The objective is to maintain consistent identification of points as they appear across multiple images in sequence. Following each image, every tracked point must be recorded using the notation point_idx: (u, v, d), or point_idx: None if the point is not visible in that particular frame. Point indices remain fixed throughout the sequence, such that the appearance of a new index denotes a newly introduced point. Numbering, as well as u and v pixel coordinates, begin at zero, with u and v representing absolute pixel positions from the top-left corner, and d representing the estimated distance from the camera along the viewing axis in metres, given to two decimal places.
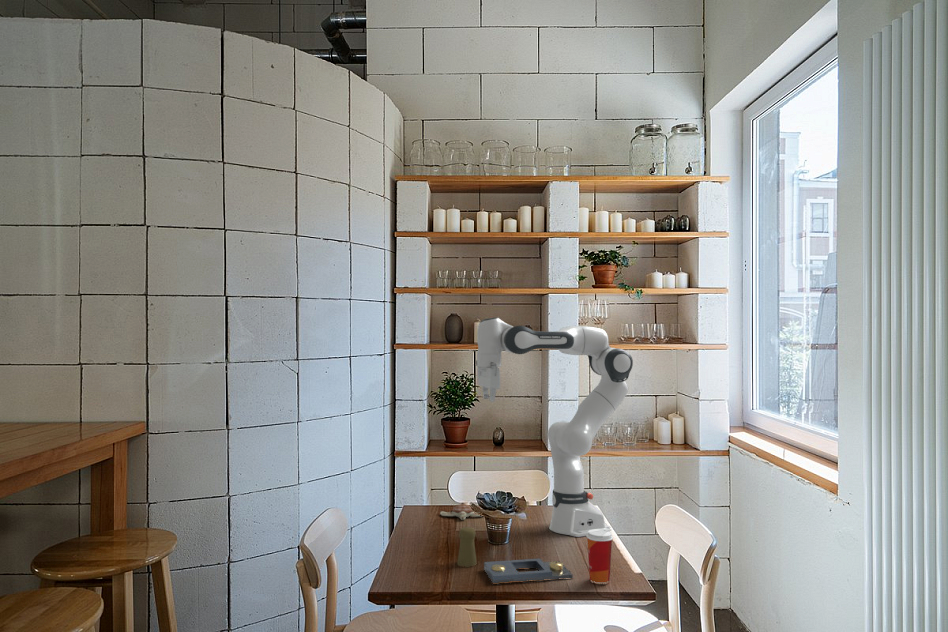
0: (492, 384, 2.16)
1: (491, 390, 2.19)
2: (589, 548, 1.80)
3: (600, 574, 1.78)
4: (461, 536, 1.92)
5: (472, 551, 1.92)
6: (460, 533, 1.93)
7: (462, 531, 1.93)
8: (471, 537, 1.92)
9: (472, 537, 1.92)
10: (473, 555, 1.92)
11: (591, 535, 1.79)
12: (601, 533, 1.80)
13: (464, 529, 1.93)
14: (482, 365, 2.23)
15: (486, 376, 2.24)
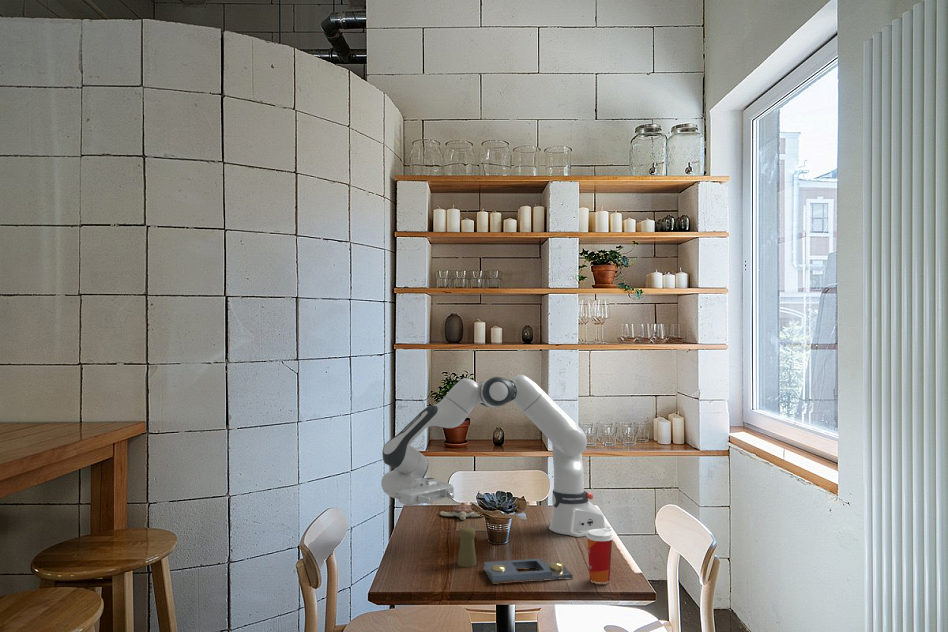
0: (405, 503, 2.01)
1: (418, 501, 2.02)
2: (589, 548, 1.80)
3: (600, 574, 1.78)
4: (461, 536, 1.92)
5: (472, 551, 1.92)
6: (460, 533, 1.93)
7: (462, 531, 1.93)
8: (471, 537, 1.92)
9: (472, 537, 1.92)
10: (473, 555, 1.92)
11: (591, 535, 1.79)
12: (601, 533, 1.80)
13: (464, 529, 1.93)
14: None
15: None
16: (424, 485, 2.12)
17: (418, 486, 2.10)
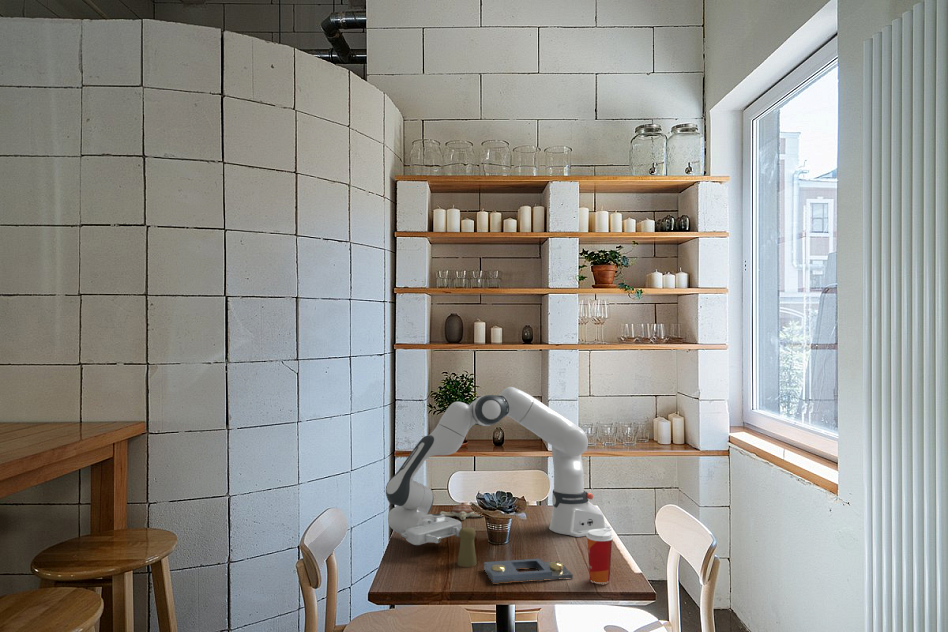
0: (413, 542, 1.98)
1: (426, 540, 1.98)
2: (589, 548, 1.80)
3: (600, 574, 1.78)
4: (461, 536, 1.92)
5: (472, 551, 1.92)
6: (460, 533, 1.93)
7: (462, 531, 1.93)
8: (471, 537, 1.92)
9: (472, 537, 1.92)
10: (473, 555, 1.92)
11: (591, 535, 1.79)
12: (601, 533, 1.80)
13: (464, 529, 1.93)
14: None
15: None
16: (432, 522, 2.08)
17: (426, 523, 2.07)
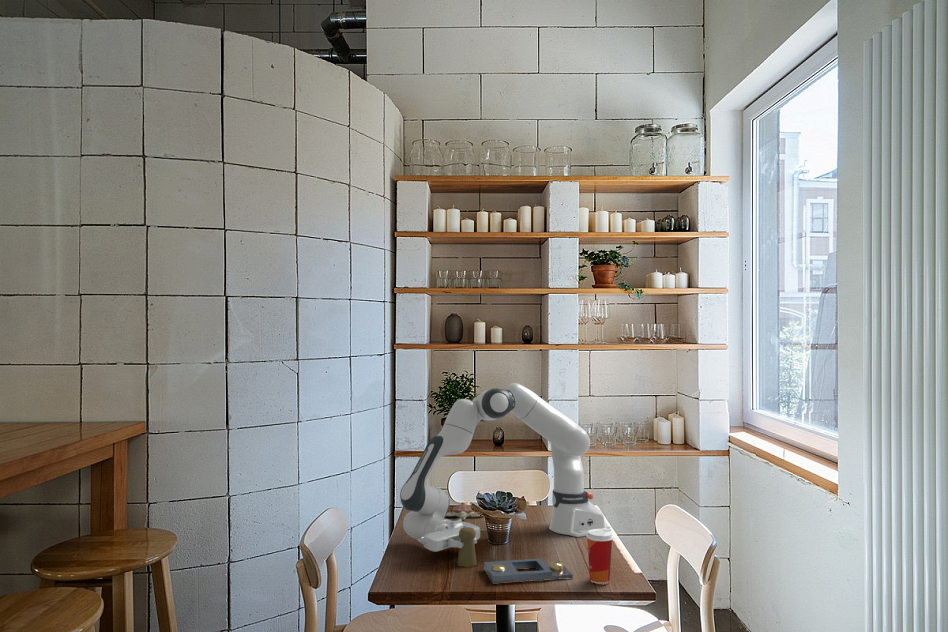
0: (431, 549, 1.91)
1: (449, 545, 1.93)
2: (589, 548, 1.80)
3: (600, 574, 1.78)
4: (461, 536, 1.92)
5: (472, 551, 1.92)
6: (460, 533, 1.93)
7: (462, 531, 1.93)
8: (471, 537, 1.92)
9: (472, 537, 1.92)
10: (473, 555, 1.92)
11: (591, 535, 1.79)
12: (601, 533, 1.80)
13: (464, 529, 1.93)
14: None
15: None
16: (449, 528, 2.02)
17: (443, 529, 2.00)
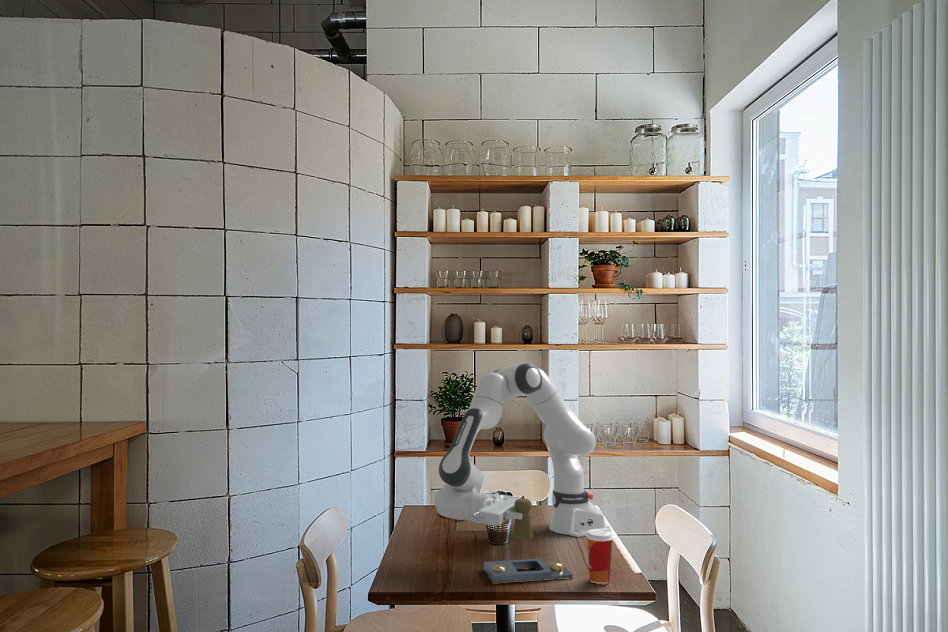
0: (493, 523, 1.80)
1: (507, 518, 1.84)
2: (589, 548, 1.80)
3: (600, 574, 1.78)
4: (520, 508, 1.84)
5: (530, 522, 1.85)
6: (518, 505, 1.85)
7: (521, 502, 1.85)
8: (530, 508, 1.85)
9: (530, 508, 1.86)
10: (531, 526, 1.86)
11: (591, 535, 1.79)
12: (601, 533, 1.80)
13: (522, 500, 1.85)
14: None
15: None
16: (495, 501, 1.92)
17: (491, 503, 1.89)
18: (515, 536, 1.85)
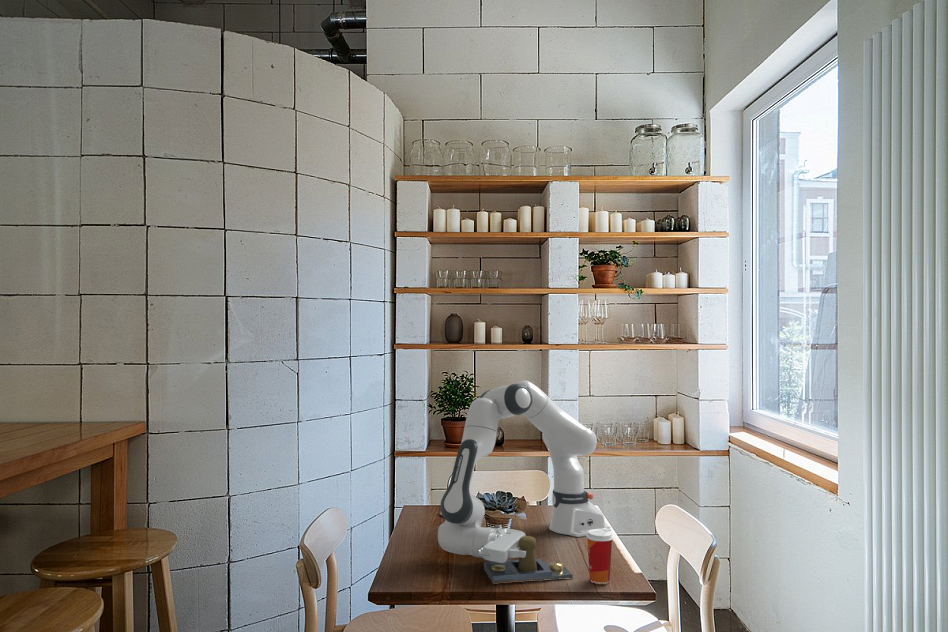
0: (498, 561, 1.79)
1: (510, 556, 1.81)
2: (589, 548, 1.80)
3: (600, 574, 1.78)
4: (525, 546, 1.83)
5: (535, 560, 1.85)
6: (523, 543, 1.84)
7: (526, 541, 1.84)
8: (535, 546, 1.85)
9: (535, 545, 1.85)
10: None
11: (591, 535, 1.79)
12: (601, 533, 1.80)
13: (526, 538, 1.85)
14: None
15: None
16: (499, 536, 1.91)
17: (495, 538, 1.88)
18: None
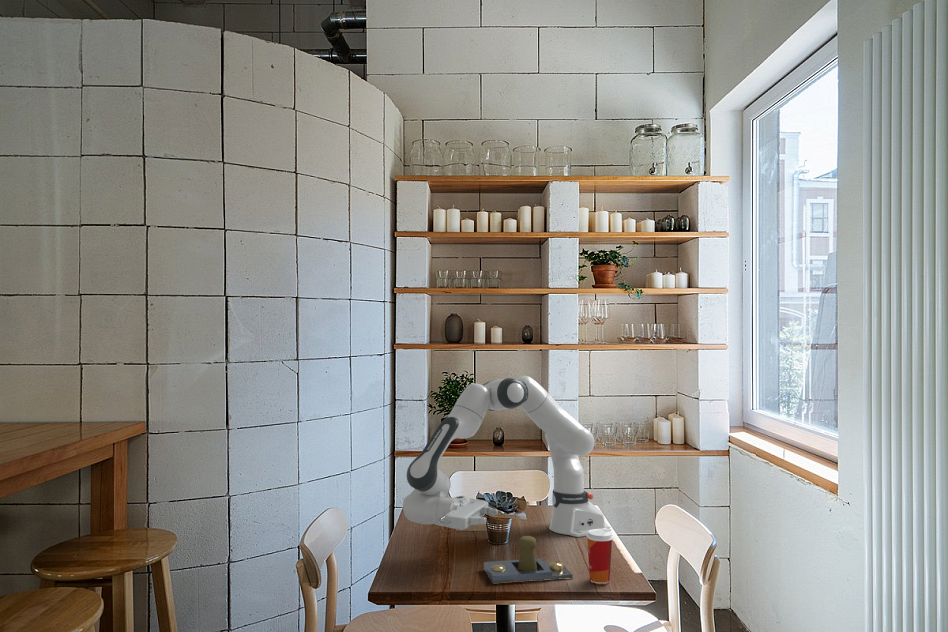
0: (459, 527, 1.84)
1: (471, 523, 1.86)
2: (589, 548, 1.80)
3: (600, 574, 1.78)
4: (525, 546, 1.83)
5: (535, 560, 1.85)
6: (523, 543, 1.84)
7: (526, 541, 1.84)
8: (535, 546, 1.85)
9: (535, 545, 1.85)
10: None
11: (591, 535, 1.79)
12: (601, 533, 1.80)
13: (526, 538, 1.85)
14: None
15: None
16: (461, 505, 1.96)
17: (458, 507, 1.94)
18: None
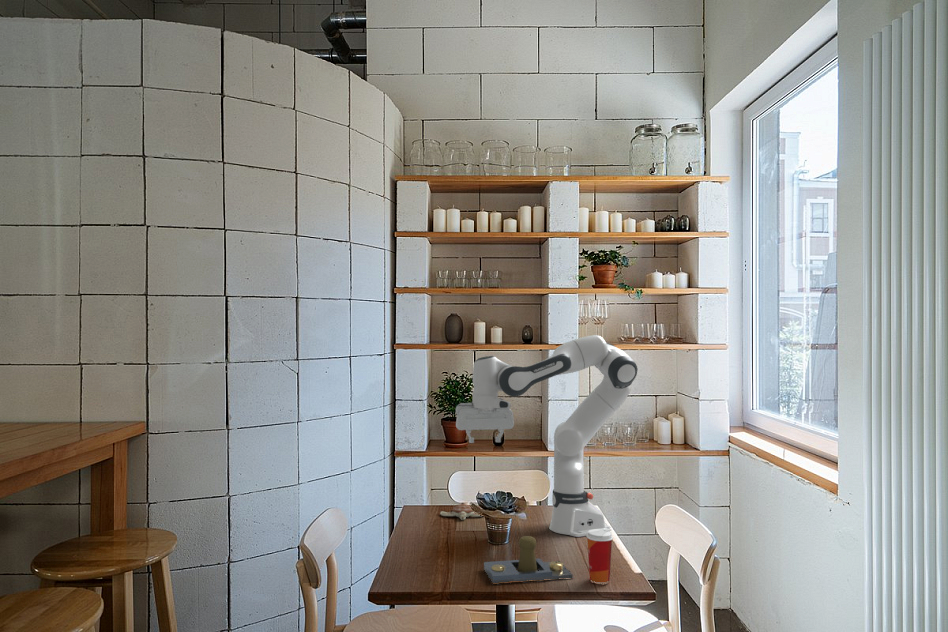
0: (456, 424, 2.16)
1: (466, 431, 2.16)
2: (589, 548, 1.80)
3: (600, 574, 1.78)
4: (525, 546, 1.83)
5: (535, 560, 1.85)
6: (523, 543, 1.84)
7: (526, 541, 1.84)
8: (535, 546, 1.85)
9: (535, 545, 1.85)
10: None
11: (591, 535, 1.79)
12: (601, 533, 1.80)
13: (526, 538, 1.85)
14: None
15: None
16: (489, 412, 2.15)
17: (482, 412, 2.15)
18: None
